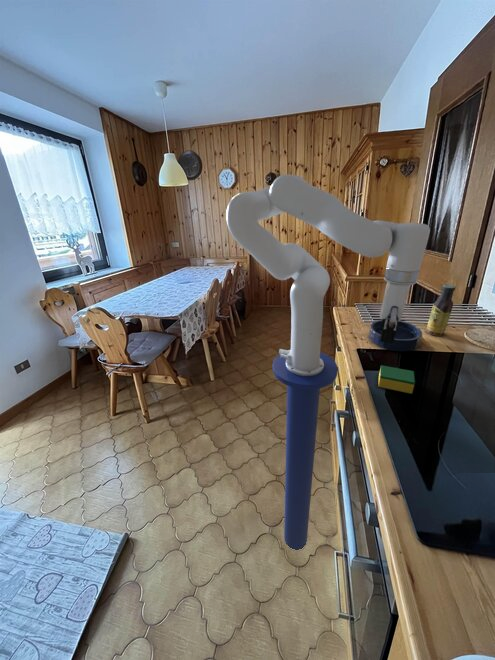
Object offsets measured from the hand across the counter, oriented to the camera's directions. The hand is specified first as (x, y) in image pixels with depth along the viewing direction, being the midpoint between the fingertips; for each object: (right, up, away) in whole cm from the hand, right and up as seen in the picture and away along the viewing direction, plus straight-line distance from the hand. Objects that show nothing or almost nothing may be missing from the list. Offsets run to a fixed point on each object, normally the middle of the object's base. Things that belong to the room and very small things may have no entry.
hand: (386, 334), depth 79 cm
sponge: (+5, -15, +6) cm, 17 cm away
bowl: (+17, -3, +30) cm, 34 cm away
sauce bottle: (+36, 0, +33) cm, 49 cm away
